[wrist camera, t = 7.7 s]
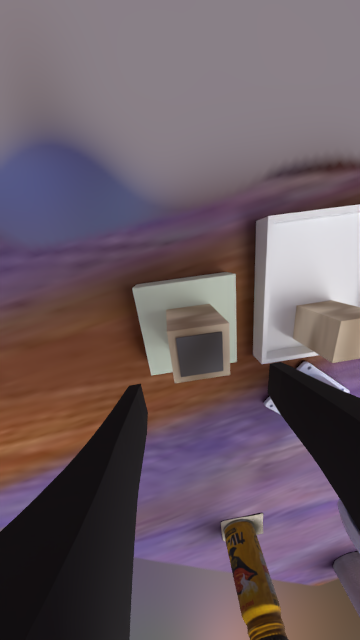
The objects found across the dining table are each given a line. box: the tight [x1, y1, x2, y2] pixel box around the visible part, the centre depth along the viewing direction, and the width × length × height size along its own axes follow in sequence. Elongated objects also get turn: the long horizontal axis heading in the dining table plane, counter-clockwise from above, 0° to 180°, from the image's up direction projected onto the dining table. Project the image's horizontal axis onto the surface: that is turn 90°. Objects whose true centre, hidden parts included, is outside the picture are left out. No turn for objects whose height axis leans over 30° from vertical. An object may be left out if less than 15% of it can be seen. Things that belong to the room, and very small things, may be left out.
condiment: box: [221, 513, 288, 640], centre depth 29 cm, size 7×8×12 cm
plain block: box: [293, 300, 360, 363], centre depth 17 cm, size 4×4×5 cm
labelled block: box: [166, 304, 230, 383], centre depth 14 cm, size 4×4×5 cm
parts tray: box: [253, 204, 360, 364], centre depth 18 cm, size 14×13×2 cm
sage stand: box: [132, 272, 237, 375], centre depth 17 cm, size 9×9×2 cm
